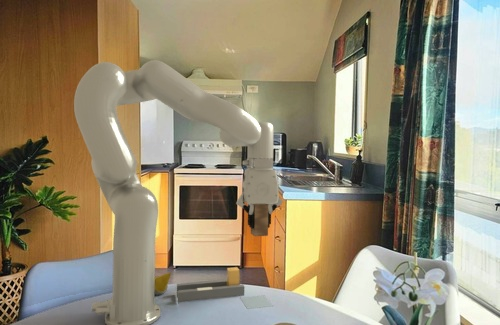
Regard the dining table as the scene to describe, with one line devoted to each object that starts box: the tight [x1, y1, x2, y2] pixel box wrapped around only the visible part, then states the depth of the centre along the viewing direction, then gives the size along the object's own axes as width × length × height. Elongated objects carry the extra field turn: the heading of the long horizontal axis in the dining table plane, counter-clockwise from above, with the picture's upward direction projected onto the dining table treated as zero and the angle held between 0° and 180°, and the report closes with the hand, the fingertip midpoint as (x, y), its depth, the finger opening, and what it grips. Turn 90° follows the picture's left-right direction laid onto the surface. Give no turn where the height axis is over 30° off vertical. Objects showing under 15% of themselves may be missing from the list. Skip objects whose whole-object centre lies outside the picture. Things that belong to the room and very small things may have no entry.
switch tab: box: [226, 266, 240, 286], centre depth 95 cm, size 3×3×5 cm
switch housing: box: [176, 278, 245, 305], centre depth 93 cm, size 18×6×3 cm, turn 107°
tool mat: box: [240, 294, 274, 310], centre depth 88 cm, size 7×7×1 cm
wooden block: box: [250, 204, 269, 237], centre depth 97 cm, size 4×4×10 cm
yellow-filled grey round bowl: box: [154, 272, 172, 296], centre depth 93 cm, size 5×5×10 cm
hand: (259, 226), depth 97 cm, fingers closed on wooden block, 4 cm apart
